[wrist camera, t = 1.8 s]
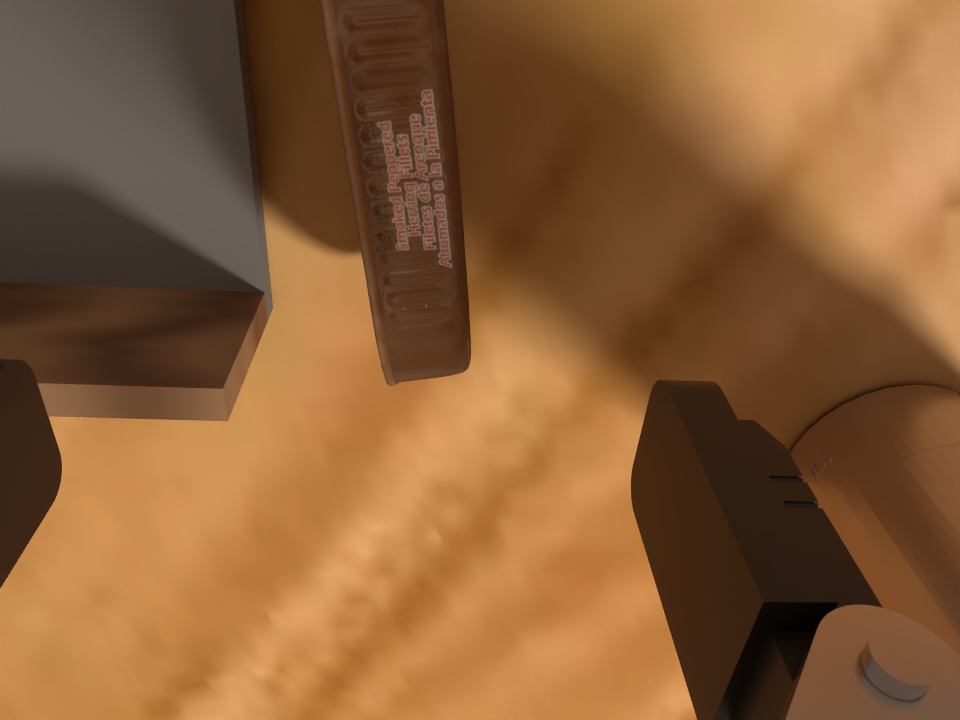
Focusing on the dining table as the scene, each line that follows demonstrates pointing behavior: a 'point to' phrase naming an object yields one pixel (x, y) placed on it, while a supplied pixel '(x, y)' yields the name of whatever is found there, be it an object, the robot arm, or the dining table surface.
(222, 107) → the mat
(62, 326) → the walls
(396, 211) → the tin
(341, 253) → the dining table surface
